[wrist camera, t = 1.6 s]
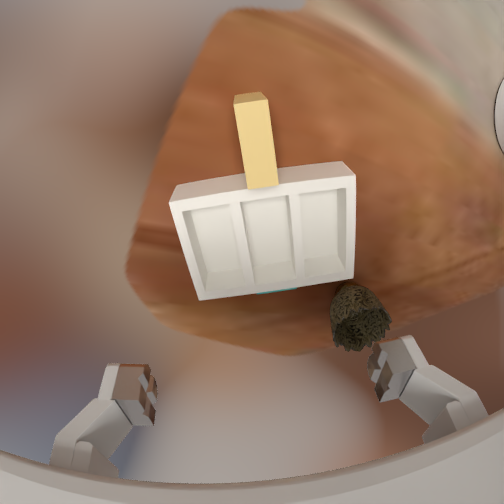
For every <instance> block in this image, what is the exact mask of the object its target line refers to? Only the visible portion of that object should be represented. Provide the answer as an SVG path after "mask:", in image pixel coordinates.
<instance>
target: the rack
mask: <svg viewBox="0 0 504 504" xmlns="http://www.w3.org/2000/svg"><path fill="white" fill-rule="evenodd" d="M277 174H278V182H279V185H277V186H270V187H263V188H256V189H249V190H248V187H247V181H246V175H245V173H243V174H236V175H230V176H224V177H218V178H212V179H207V180H201V181H196V182H190V183H185V184H180V185H177V186H176V188H175V190H174V192H173V194H172V196H171V199H170V201H169V205H170V208H171V212H172V215H173V219H174V222H175V226H176V229H177V232H178V236H179V239H180V242H181V245H182V249H183V252H184V255H185V258H186V262H187V265H188V268H189V271H190V274H191V277H192V280H193V283H194V286H195V290H196V293H197V296H198V299H199V301H200V300H208V299H216V298H224V297H232V296H239V295H247V294H254V293H257V294H264V293H271V292H278V291H284V290H291V289H297V287H302V286H309V285H315V284H321V283H328V282H334V281H340V280H346V279H352V278H353V276H354V257H355V227H356V175H355V174H354V173H353V172H352V171H351V170H350V169H349V168H348V167H347V166H346V165H345V164H344V163H343V162H342V161H337V162H327V163H318V164H309V165H301V166H292V167H285V168H277Z"/></svg>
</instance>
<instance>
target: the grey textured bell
mask: <svg viewBox="0 0 504 504" xmlns="http://www.w3.org/2000/svg"><path fill="white" fill-rule="evenodd" d="M330 320H331V328H332V334H333V341H334V342H335V345H336V347H339V344H340V345H341V346H342V345H343V346H344V347H345V350H346V351H350V349H352V350H354V351H361V350H362V349H363V347H364V346H365V345H367V346H368V347H371V346H372V343H371V341H372V340H373V341H374V342H378V341H380V340H381V337H382V338H384V337H385V329H387V330H390V328H389V325H388V324H390V323H391V322H392V321H391V318H390V316H389V314H388V312H387V311H386V310H385V308H384V307H383V305H382V304H381V302H380V301H379V299H378V298H377V297H376V296H375V294H374V293H373V292H372V291H370V290H369V289H367V288H366V287H363V286H359V285H358V284H356V283H354V282H345V283H343V284H341V285H340V286H339V287H338V288H337V290H336V292H335V297H334V298H333V300H332V302H331V306H330Z"/></svg>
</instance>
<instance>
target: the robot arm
mask: <svg viewBox="0 0 504 504" xmlns="http://www.w3.org/2000/svg"><path fill="white" fill-rule="evenodd" d="M495 126H496V133H497V137H498V141H499V144H500V146H501V149H502V151H503V152H504V80H503V81H502V83H501V86H500V88H499V91H498V95H497V99H496V106H495ZM372 351H373V353H372V354H371V355H370V356H369V359H368V362H367V364H368V365H367V368H368V374H369V377H370V379H371V380H372V381H373V382H375V383H376V386H375V392H376V394H377V397H378V399H379V402H384V401H388V400H392V399H396V398H399V399H400V400H401V401H402V402H403V403H405V404H406V405H407V406H408V407H409V408H410V409H412V410H413V411H414V412H415V413H416V414H417V415H418V416H420V417H421V418H422V419H423V420H424V421H426V422H427V423H428V424H429V425H430V427H429V428H428V429H427V430H426V431H425V433H424V434H423V436H422V438H423V441H424V443H425V444H424V445H421V446H418V447H415V448H412V449H409V450H406V451H403V452H400V453H397V454H394V455H390V456H387V457H384V458H380V459H377V460H373V461H369V462H366V463H362V464H358V465H354V466H350V467H345V468H341V469H336V470H332V471H326V472H321V473H315V474H310V475H304V476H298V477H290V478H283V479H274V480H265V481H254V482H240V483H216V484H215V483H214V484H188V483H163V482H149V481H148V482H147V481H138V480H129V479H121V478H118V475H119V470H118V469H117V467H116V466H114V465H113V464H112V463H111V462H110V461H109V460H108V459H109V458H110V456H111V455H112V454H113V452H114V451H115V450H116V448H117V447H118V446H119V444H120V443H121V442H122V440H123V439H124V438H125V436H126V435H127V434H128V432H129V431H130V430H131V428H132V427H133V426H132V425H136V426H154V421H155V412H156V410H155V409H154V407H153V404H154V403H155V402H156V401H157V395H158V393H157V384H156V381H155V378H154V377H153V376H152V375H150V373H151V369H150V367H149V365H148V364H125V363H109V364H108V365H107V366H106V369H105V373H104V377H103V381H102V384H101V388H100V392H99V396H98V399H93V400H92V401H91V402H90V403H89V404H88V405H87V406H86V407H85V408H84V409H83V410H82V411H81V412H80V413H79V414H78V415H77V416H76V417H75V418H74V419H73V420H72V421H71V422H70V423H68V424H67V426H66V427H64V428H63V429H62V430H61V431H60V432H59V433H58V434H57V435H56V438H55V442H54V446H53V449H52V453H51V458H50V462H49V465H48V464H44V463H41V462H37V461H33V460H30V459H27V458H23V457H20V456H17V455H14V454H11V453H8V452H5V451H2V450H0V504H504V408H503V409H501V410H499V411H497V412H495V413H493V414H491V415H490V416H488V414H487V412H486V410H485V408H484V406H483V404H482V402H481V400H480V399H479V397H478V395H477V393H476V392H475V391H474V390H472V389H471V388H469V387H467V386H466V385H464V384H463V383H461V382H459V381H458V380H456V379H454V378H453V377H451V376H450V375H448V374H446V373H445V372H443V371H442V370H440V369H438V368H437V367H435V366H433V365H429V364H428V362H427V361H426V359H425V357H424V355H423V354H422V352H421V350H420V348H419V347H418V345H417V343H416V341H415V340H414V338H413V337H412V336H411V335H407V336H403V337H397V338H392V339H387V340H383V341H378V342H375V343H374V344H373V346H372Z"/></svg>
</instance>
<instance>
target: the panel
mask: <svg viewBox="0 0 504 504" xmlns="http://www.w3.org/2000/svg"><path fill="white" fill-rule="evenodd" d="M234 110H235V116H236V122H237V128H238V134H239V140H240V145H241V151H242V157H243V163H244V169H245V175H246V181H247V187H248V190H249V189H256V188H263V187H270V186H277V185H279V182H278V174H277V166H276V158H275V150H274V143H273V135H272V128H271V121H270V113H269V106H268V99H267V98H266V97H265V96H264V95H263V94H262V93H261V92H254V93H247V94H241V95H235V97H234Z"/></svg>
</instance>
